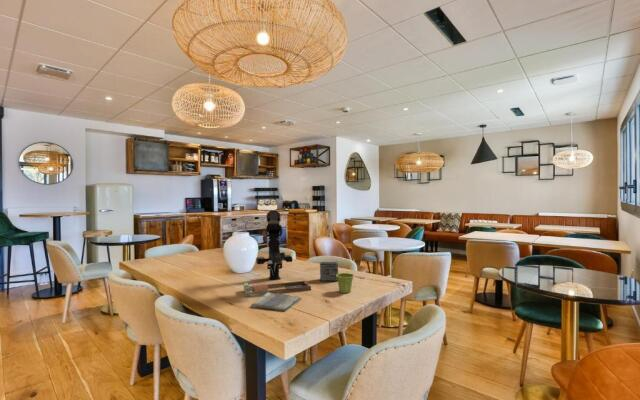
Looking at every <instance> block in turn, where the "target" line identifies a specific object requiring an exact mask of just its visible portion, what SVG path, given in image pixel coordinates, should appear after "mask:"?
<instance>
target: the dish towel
mask: <svg viewBox="0 0 640 400" xmlns="http://www.w3.org/2000/svg"><path fill="white" fill-rule="evenodd" d="M301 300H302V297H300V296H298V295H290V294H286V293H280V294H279V293H276V294H273V293H269V292H267V293H266V294H265V295H263V296H260V298H258V299H257V300H255V301H254V302H253V303H251V305H250V307H251V308H252V309H253V308H254V309H259V310H269V311H275V312H283V313H285V312H287V311H288V310H289V309H291V308H293V307H294V306H295V305H296V304H298V303H299V302H300V301H301Z"/></svg>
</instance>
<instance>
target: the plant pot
mask: <svg viewBox="0 0 640 400" xmlns="http://www.w3.org/2000/svg"><path fill="white" fill-rule="evenodd" d="M336 276H337V279H338V282H337V284H338V292H340V293H341V294H347V293H348V294H349V293H351V292H352V286H353V279H354V277H355V275H354V274H353V273H350V272H338V274H337V275H336Z"/></svg>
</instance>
